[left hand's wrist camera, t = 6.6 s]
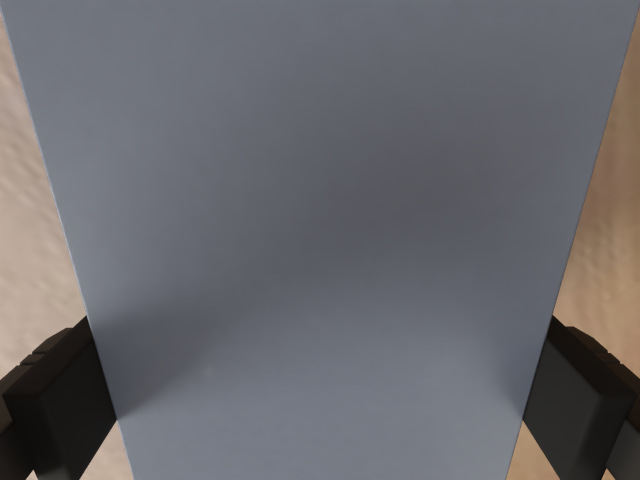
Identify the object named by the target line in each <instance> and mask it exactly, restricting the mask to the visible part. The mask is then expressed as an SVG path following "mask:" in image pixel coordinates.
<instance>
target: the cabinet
mask: <svg viewBox="0 0 640 480" xmlns="http://www.w3.org/2000/svg"><path fill="white" fill-rule="evenodd" d="M639 6H640V0H0V12H1V15H2V19H3V22H4V26H5V29H6V33H7V36H8V40H9V43H10V47H11V50H12V54H13V58H14V61H15V65H16V68H17V72H18V75H19V79H20V82H21V86H22V89H23V93H24V96H25V100H26V103H27V107H28V110H29V114H30V117H31V121H32V124H33V128H34V131H35V135H36V138H37V142H38V145H39V149H40V152H41V156H42V159H43V163H44V166H45V170H46V174H47V177H48V181H49V184H50V188H51V191H52V195H53V198H54V202H55V205H56V209H57V212H58V216H59V219H60V223H61V226H62V230H63V233H64V237H65V240H66V244H67V247H68V251H69V254H70V258H71V261H72V265H73V268H74V272H75V275H76V279H77V282H78V286H79V290H80V293H81V297H82V300H83V304H84V307H85V311H86V314H87V318H88V321H89V325H90V328H91V332H92V335H93V339H94V342H95V346H96V349H97V353H98V356H99V360H100V363H101V367H102V370H103V374H104V377H105V381H106V384H107V388H108V391H109V395H110V398H111V402H112V406H113V409H114V413H115V416H116V420H117V423H118V427H119V430H120V434H121V437H122V441H123V444H124V448H125V451H126V455H127V458H128V462H129V465H130V469H131V472H132V476H133V479H134V480H506V477H507V474H508V470H509V467H510V463H511V460H512V456H513V453H514V449H515V445H516V442H517V438H518V435H519V431H520V428H521V424H522V421H523V417H524V414H525V410H526V407H527V403H528V399H529V396H530V392H531V389H532V385H533V382H534V378H535V375H536V371H537V368H538V364H539V361H540V357H541V353H542V350H543V346H544V343H545V339H546V336H547V332H548V329H549V325H550V322H551V318H552V314H553V311H554V307H555V304H556V300H557V297H558V293H559V290H560V286H561V283H562V279H563V276H564V272H565V268H566V265H567V261H568V258H569V254H570V251H571V247H572V244H573V240H574V237H575V233H576V230H577V226H578V222H579V219H580V215H581V212H582V208H583V205H584V201H585V198H586V194H587V191H588V187H589V184H590V180H591V176H592V173H593V169H594V166H595V162H596V159H597V155H598V152H599V148H600V145H601V141H602V137H603V134H604V130H605V127H606V123H607V120H608V116H609V113H610V109H611V106H612V102H613V99H614V95H615V91H616V88H617V84H618V81H619V77H620V74H621V70H622V67H623V63H624V60H625V56H626V53H627V49H628V45H629V42H630V38H631V35H632V31H633V28H634V24H635V21H636V17H637V14H638V10H639Z"/></svg>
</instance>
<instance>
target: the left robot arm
mask: <svg viewBox="0 0 640 480" xmlns="http://www.w3.org/2000/svg"><path fill="white" fill-rule="evenodd" d="M523 421H524V423H525V424H526V426H527V427H528V429H529V431H530V432H531V434H532V435H533V437H534V439H535V440H536V442H537V443H538V445H539V446H540V448H541V450H542V451H543V453H544V454H545V456H546V458H547V459H548V461H549V462H550V464H551V466H552V467H553V469H554V470H555V472H556V474H557V475H558V477H559V478H560V480H601V479H602V477H603V475H604V472H605V470H606V468H607V469H608V470H609V472H610V473H611V474H612V476H613V477H614V478H615V479H616V480H640V379H639V378H638V377H637V376H636V375H635V374H634V373H633V372H631V371H630V370H629V369H628V368H627V367H626V366H625V365H623V364H620V361H619V360H618V359H617V358H616V357H614V356H613V355H612V354H611V353H608V350H606V349H605V348H604V347H603V346H602V345H601V344H600V343H598V342H597V341H596V340H595V339H594V338H593V337H591V336H589V335H587V334H586V333H584V332H582V331H580V330H579V329H577V328H575V327H565V326H564V325H563V324H562V323H561V322H560V321H559V320H558V319H557V318H556V317H554V316H553V315H552V318H551V322H550V325H549V329H548V332H547V336H546V339H545V343H544V346H543V350H542V353H541V357H540V361H539V364H538V368H537V371H536V375H535V378H534V382H533V385H532V389H531V392H530V396H529V399H528V403H527V407H526V410H525V414H524V417H523ZM115 422H116V416H115V413H114V409H113V406H112V402H111V398H110V395H109V391H108V388H107V384H106V381H105V377H104V374H103V370H102V367H101V363H100V360H99V356H98V353H97V349H96V346H95V342H94V339H93V335H92V332H91V328H90V325H89V321H88V318H87V315H86V316H85V317H84V318H83V319H82V320H81V321H80V322H79V323H78V324H77V325H75V326H74V327H73V328H65V329H64V330H62V331H60V332H58V333H57V334H55V335H53V336H51V337H49V338H48V339H46V340H45V341H44V342H43V343H42V344H41V345H40V346H38V347H37V348H36V349H35V350H34V351H33V352H32V354H29V355H28V356H27V357H26V358H25V359H24V360H23V361H21V362H20V365H19V366H16V367H15V368H14V369H12V370H11V371H10V372H9V373H8V374H7V375H6V376H5V377H3V378H2V379H1V380H0V480H26V478H27V477H28V476H29V475H30V473H31V472H32V471H33V469H34V471H35V474H36V476H37V478H38V480H79V479H80V478H81V476H82V474H83V473H84V471H85V470H86V468H87V467H88V465H89V463H90V462H91V460H92V459H93V457H94V455H95V454H96V452H97V451H98V449H99V447H100V446H101V444H102V443H103V441H104V439H105V438H106V436H107V435H108V433H109V432H110V430H111V428H112V427H113V425H114V424H115Z"/></svg>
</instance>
